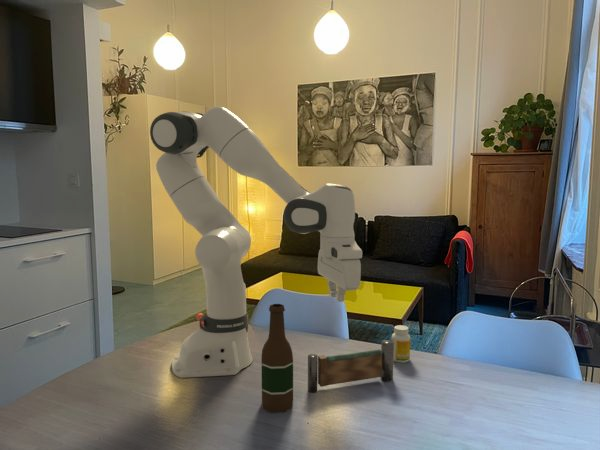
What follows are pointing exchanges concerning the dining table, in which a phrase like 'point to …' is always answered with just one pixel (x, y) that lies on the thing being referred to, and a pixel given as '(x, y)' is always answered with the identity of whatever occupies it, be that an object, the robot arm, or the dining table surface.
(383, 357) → the posts
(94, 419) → the dining table surface
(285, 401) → the beer bottle
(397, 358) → the supplement bottle
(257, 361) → the dining table surface
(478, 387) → the dining table surface
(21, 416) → the dining table surface
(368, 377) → the brown wooden panel
